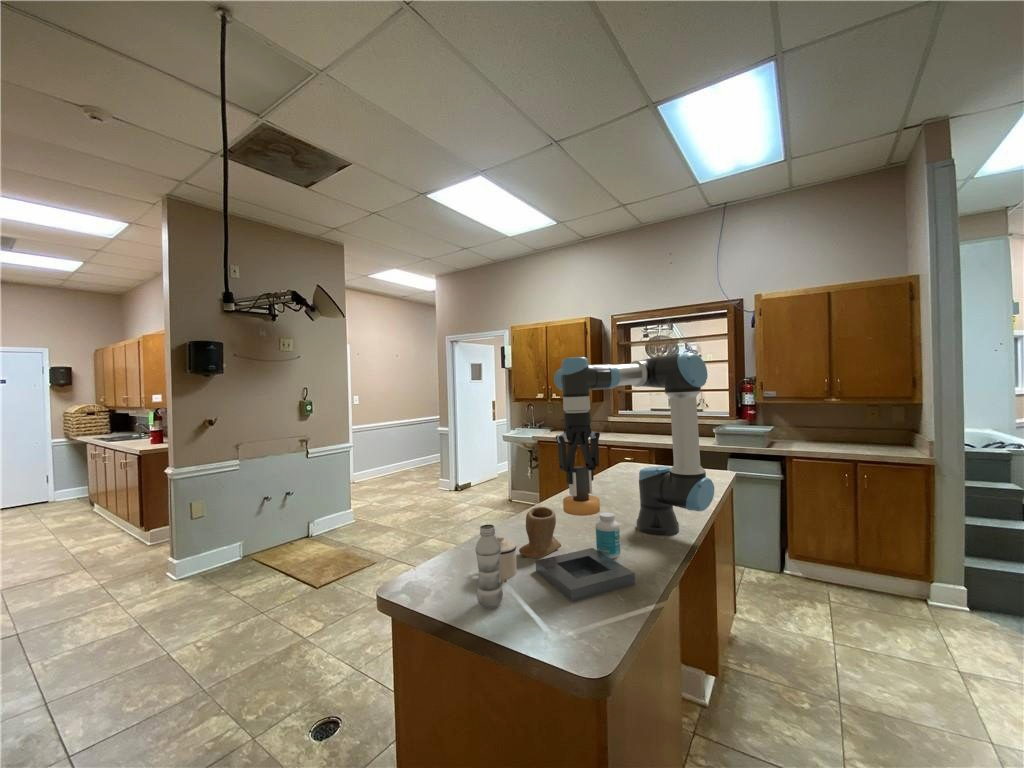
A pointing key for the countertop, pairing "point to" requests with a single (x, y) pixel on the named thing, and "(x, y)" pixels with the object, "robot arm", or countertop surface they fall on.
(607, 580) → the grey square socket block
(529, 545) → the stone cup
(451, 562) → the countertop surface
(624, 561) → the countertop surface
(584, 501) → the peg on round base
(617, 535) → the pill bottle
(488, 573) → the plastic bottle
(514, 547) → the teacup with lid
